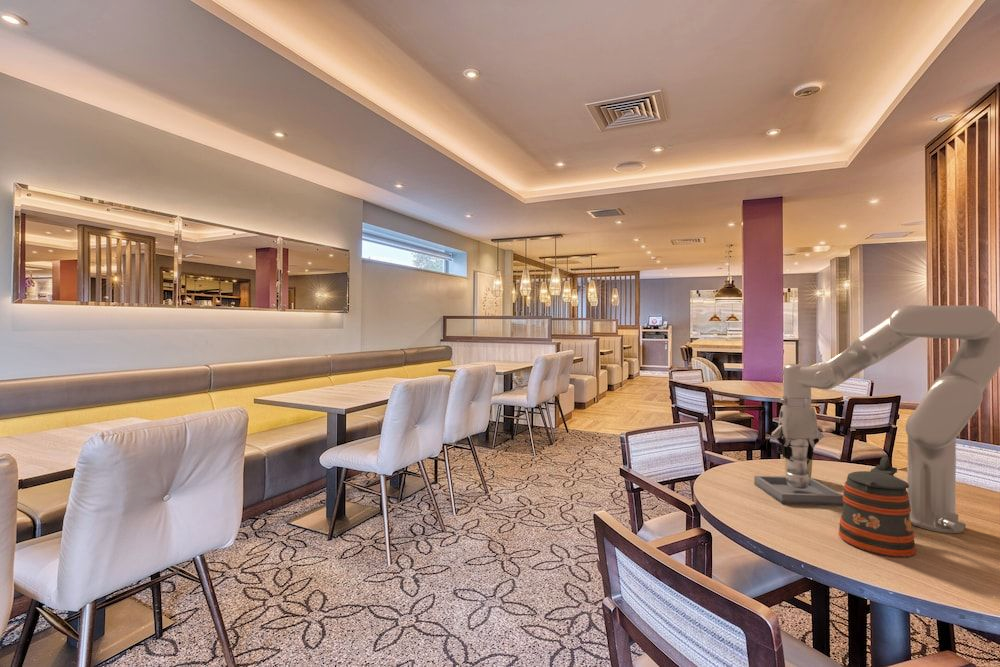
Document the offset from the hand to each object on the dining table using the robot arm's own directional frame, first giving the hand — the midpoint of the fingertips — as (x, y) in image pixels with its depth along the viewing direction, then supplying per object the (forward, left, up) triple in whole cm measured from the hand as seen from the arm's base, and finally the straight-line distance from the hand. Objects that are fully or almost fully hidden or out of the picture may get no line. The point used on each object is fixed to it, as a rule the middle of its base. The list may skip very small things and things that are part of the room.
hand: (797, 457), depth 145 cm
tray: (0, 0, -12) cm, 12 cm away
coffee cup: (+18, -10, -12) cm, 24 cm away
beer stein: (-32, -2, -12) cm, 34 cm away
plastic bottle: (0, 0, -10) cm, 10 cm away
